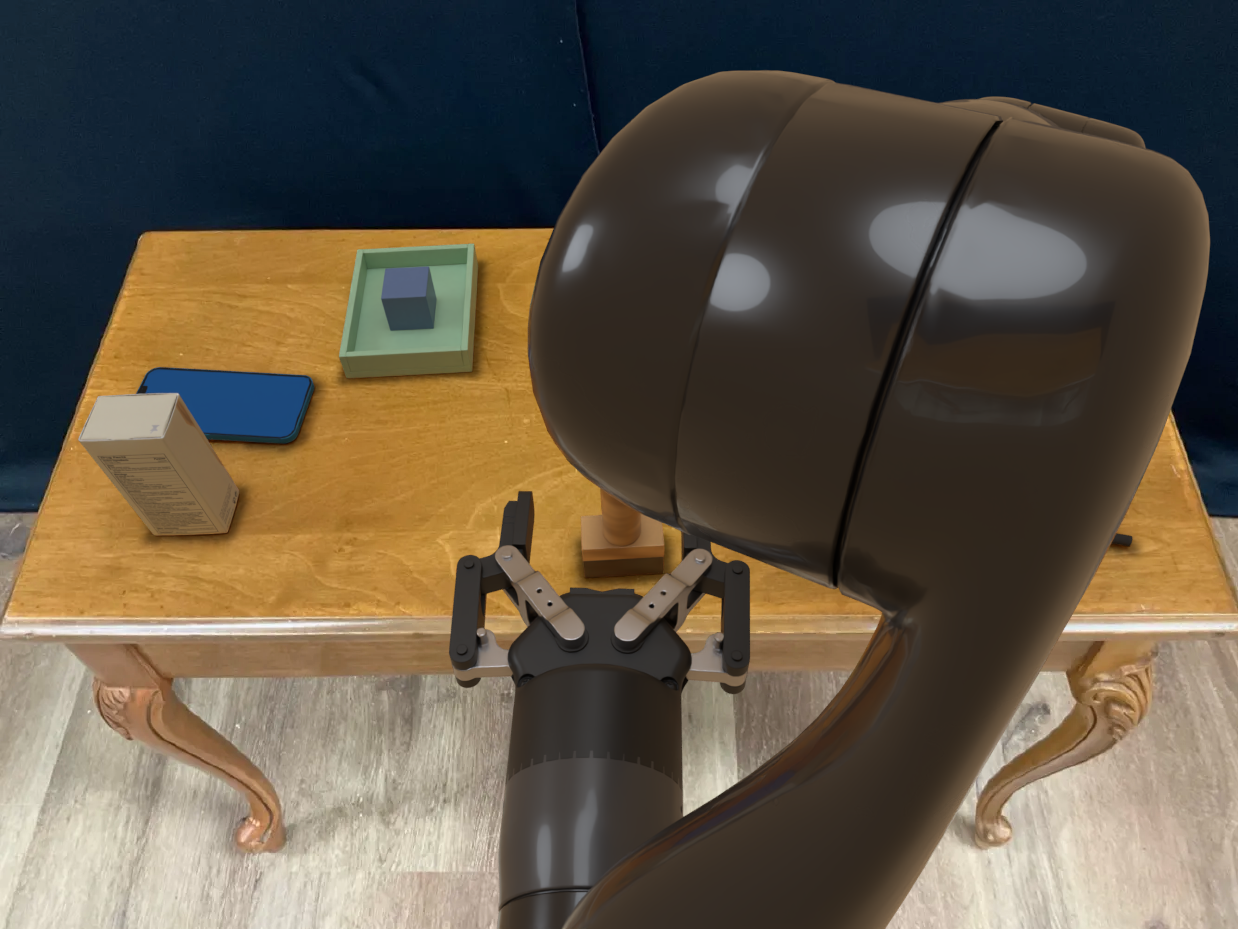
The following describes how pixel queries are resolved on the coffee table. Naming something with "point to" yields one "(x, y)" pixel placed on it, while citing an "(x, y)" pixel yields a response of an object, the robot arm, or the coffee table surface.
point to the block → (409, 298)
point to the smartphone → (237, 401)
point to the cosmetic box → (161, 463)
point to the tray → (415, 350)
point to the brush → (621, 541)
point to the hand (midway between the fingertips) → (606, 502)
